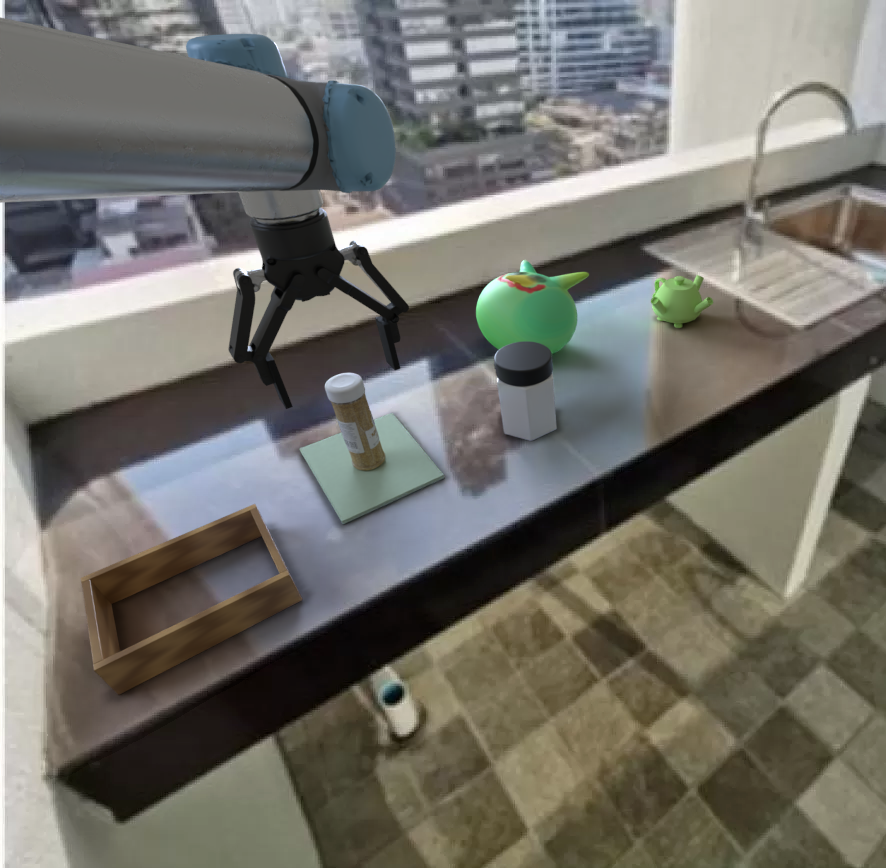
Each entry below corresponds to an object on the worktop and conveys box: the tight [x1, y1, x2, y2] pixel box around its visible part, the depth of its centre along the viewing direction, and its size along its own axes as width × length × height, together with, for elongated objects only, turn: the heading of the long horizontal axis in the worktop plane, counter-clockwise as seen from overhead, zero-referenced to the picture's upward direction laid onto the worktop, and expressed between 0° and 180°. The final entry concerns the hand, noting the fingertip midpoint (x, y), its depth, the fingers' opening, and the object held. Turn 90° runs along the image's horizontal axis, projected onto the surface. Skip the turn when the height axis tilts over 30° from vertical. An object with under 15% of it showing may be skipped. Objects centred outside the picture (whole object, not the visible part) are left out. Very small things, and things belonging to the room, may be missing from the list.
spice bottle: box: [324, 372, 385, 471], centre depth 80 cm, size 5×5×14 cm
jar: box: [493, 341, 558, 442], centre depth 88 cm, size 9×8×12 cm
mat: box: [299, 412, 445, 525], centre depth 85 cm, size 18×14×1 cm
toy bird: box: [475, 259, 590, 355], centre depth 104 cm, size 18×17×15 cm
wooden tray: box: [80, 503, 303, 696], centre depth 66 cm, size 18×14×4 cm
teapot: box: [650, 274, 714, 329], centre depth 115 cm, size 11×12×8 cm
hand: (342, 383), depth 76 cm, fingers open, 13 cm apart
